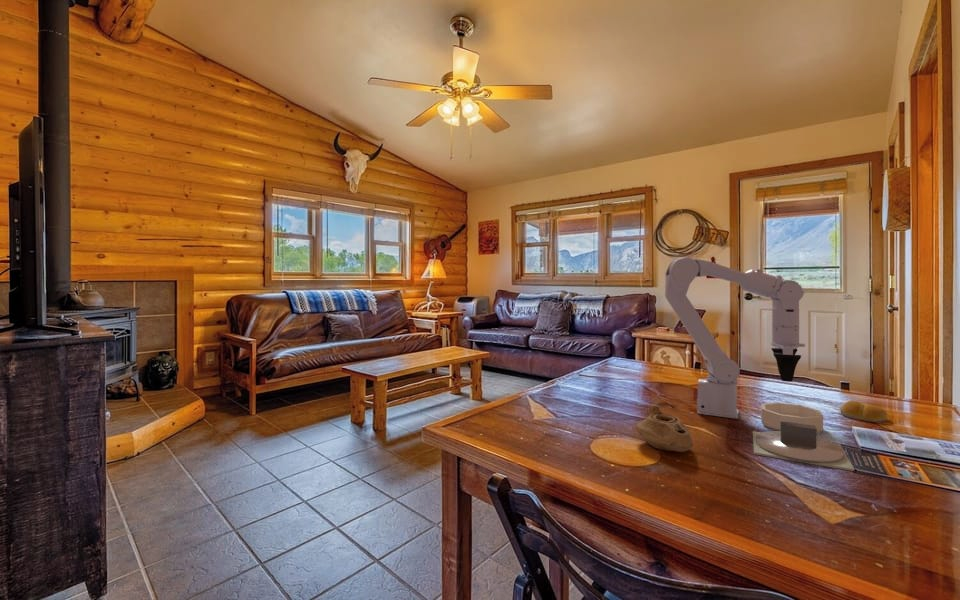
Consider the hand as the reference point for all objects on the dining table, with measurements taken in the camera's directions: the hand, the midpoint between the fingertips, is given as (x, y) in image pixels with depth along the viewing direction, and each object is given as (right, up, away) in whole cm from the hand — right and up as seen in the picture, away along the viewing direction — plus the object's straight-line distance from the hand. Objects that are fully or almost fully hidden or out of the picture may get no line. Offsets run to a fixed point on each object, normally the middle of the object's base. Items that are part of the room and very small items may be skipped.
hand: (785, 377), depth 111 cm
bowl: (-3, -11, -6) cm, 13 cm away
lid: (-12, -11, -20) cm, 26 cm away
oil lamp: (-39, -12, -18) cm, 44 cm away
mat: (-12, -12, -20) cm, 26 cm away
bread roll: (+20, -11, 0) cm, 23 cm away
